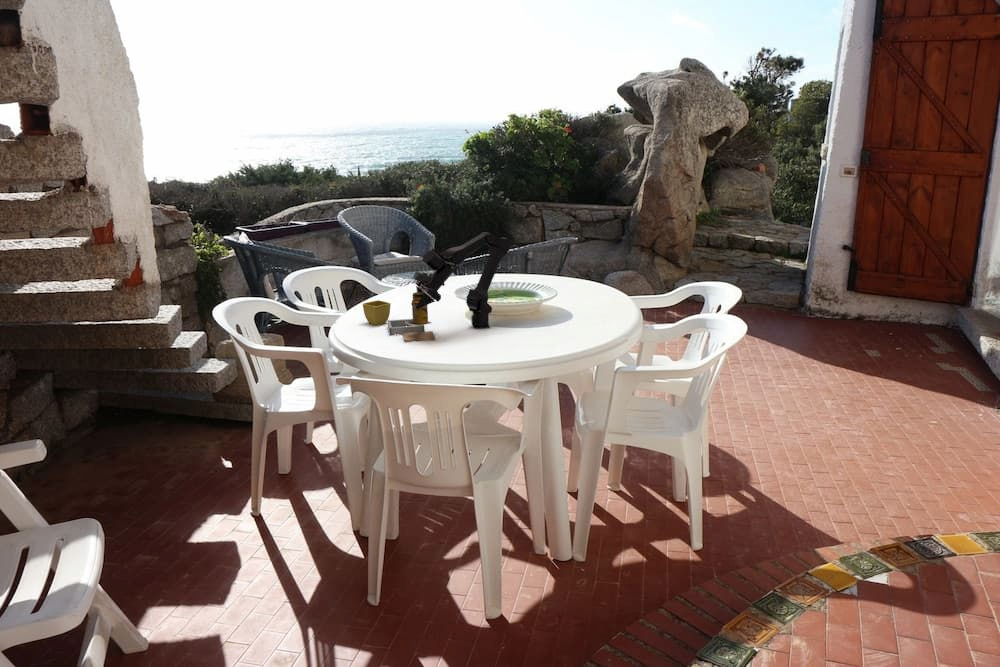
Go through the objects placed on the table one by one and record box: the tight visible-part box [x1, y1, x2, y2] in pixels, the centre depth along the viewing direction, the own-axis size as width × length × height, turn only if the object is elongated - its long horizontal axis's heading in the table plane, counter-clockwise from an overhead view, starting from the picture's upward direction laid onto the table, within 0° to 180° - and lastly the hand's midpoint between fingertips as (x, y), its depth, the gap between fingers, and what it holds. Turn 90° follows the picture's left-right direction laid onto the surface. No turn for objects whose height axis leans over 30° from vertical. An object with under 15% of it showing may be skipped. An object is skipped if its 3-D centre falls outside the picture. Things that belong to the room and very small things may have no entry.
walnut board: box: [402, 330, 436, 343], centre depth 291 cm, size 12×10×1 cm
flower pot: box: [362, 299, 392, 326], centre depth 313 cm, size 9×9×9 cm
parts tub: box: [387, 318, 426, 336], centre depth 302 cm, size 14×13×3 cm
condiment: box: [405, 291, 432, 326], centre depth 288 cm, size 7×8×12 cm
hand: (414, 306), depth 287 cm, fingers closed on condiment, 6 cm apart
